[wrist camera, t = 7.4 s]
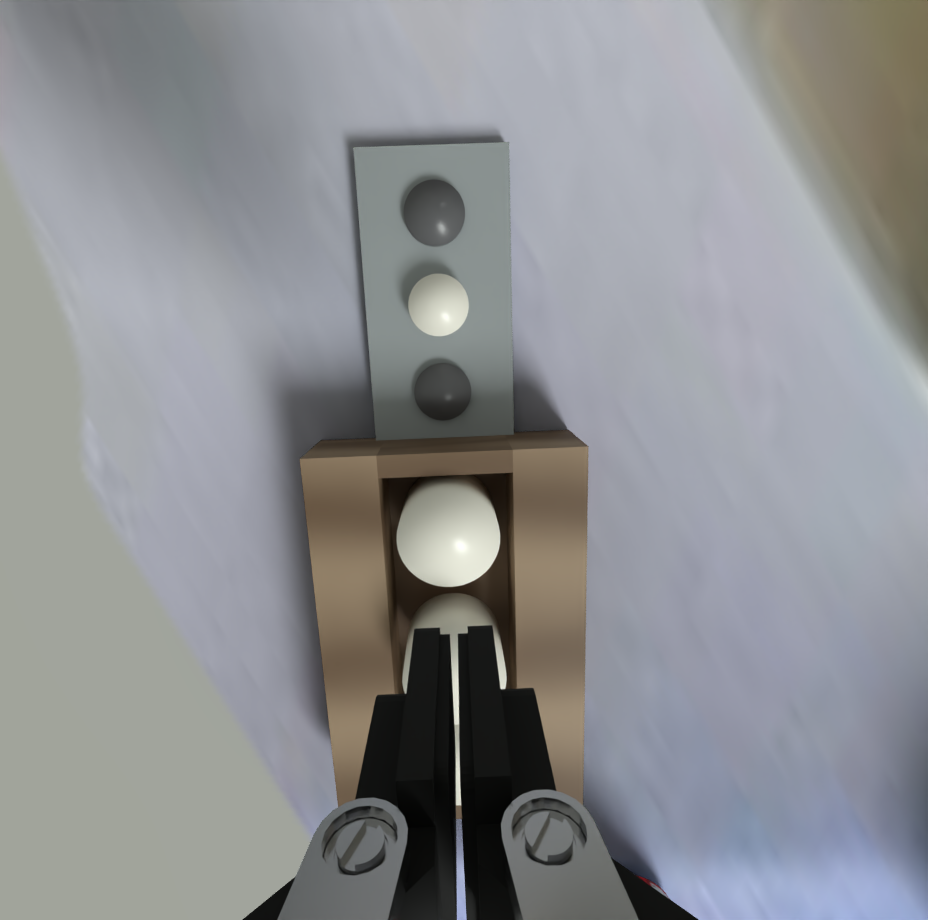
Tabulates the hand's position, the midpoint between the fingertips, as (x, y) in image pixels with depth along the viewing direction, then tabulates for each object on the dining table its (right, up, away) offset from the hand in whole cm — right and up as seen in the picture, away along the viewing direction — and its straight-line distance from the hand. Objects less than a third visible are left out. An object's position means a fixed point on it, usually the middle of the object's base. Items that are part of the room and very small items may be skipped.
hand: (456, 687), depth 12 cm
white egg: (0, +3, +13) cm, 13 cm away
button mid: (0, -3, +13) cm, 13 cm away
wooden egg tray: (0, -2, +15) cm, 15 cm away
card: (-1, +11, +11) cm, 16 cm away
